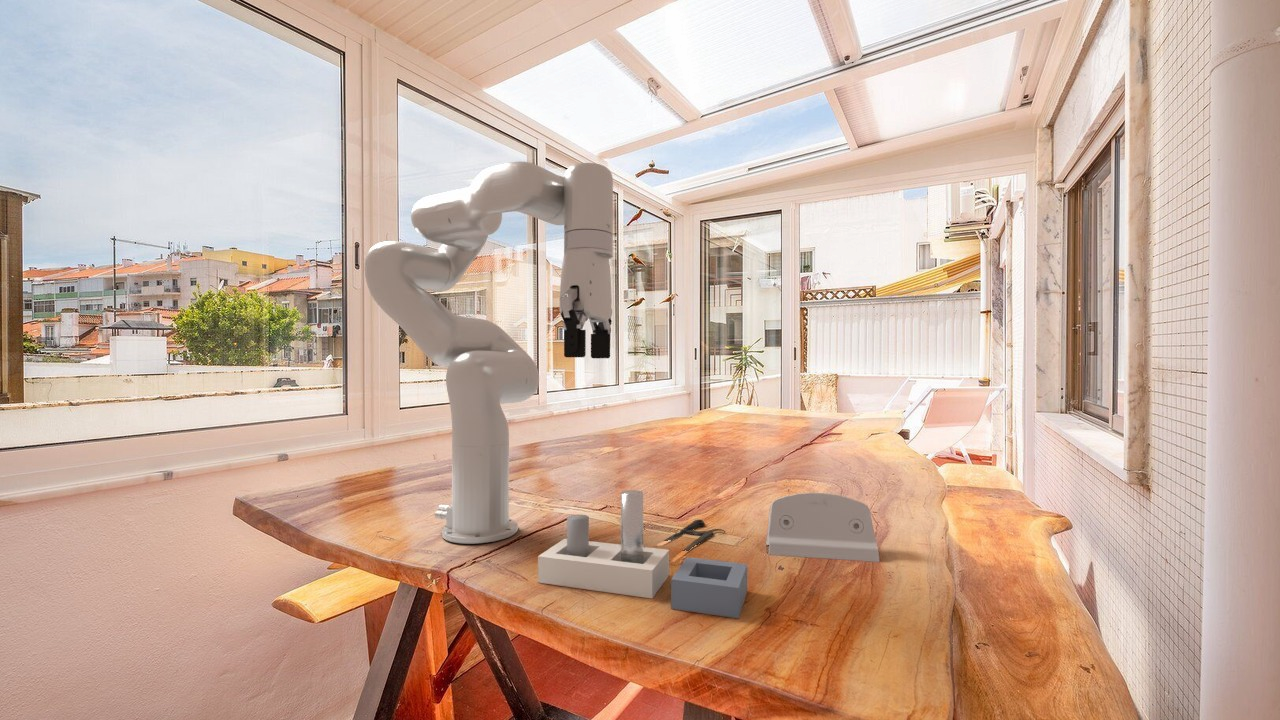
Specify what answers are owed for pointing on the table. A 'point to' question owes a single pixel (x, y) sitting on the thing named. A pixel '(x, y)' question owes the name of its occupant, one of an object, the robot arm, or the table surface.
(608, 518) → the table surface
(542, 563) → the rack
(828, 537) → the grey wall bracket
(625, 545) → the grey peg
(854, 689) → the table surface
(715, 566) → the socket block
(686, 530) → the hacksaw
